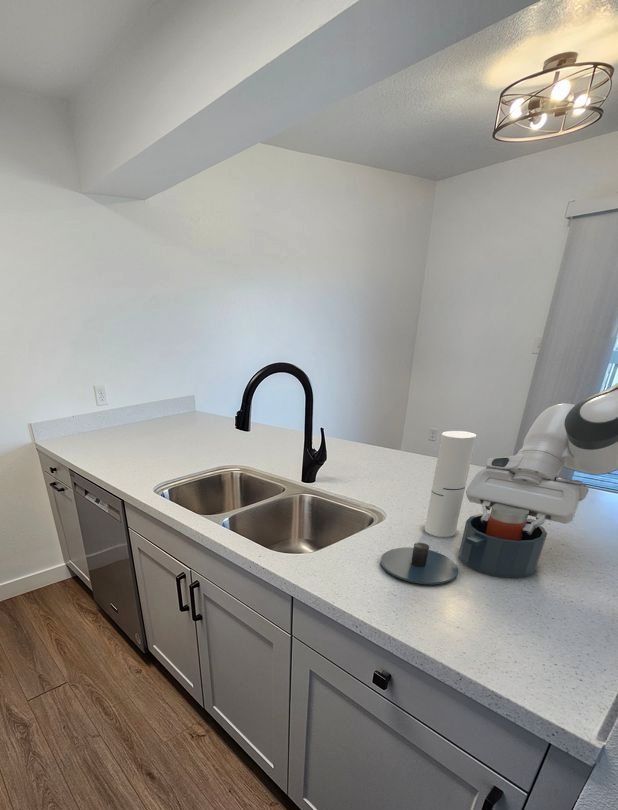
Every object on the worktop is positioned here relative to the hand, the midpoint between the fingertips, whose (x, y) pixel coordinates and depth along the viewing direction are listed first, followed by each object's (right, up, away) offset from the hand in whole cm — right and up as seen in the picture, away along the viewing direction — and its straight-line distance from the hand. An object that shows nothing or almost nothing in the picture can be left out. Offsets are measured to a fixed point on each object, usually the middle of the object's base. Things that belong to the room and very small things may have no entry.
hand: (504, 527), depth 93 cm
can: (+1, -4, +2) cm, 5 cm away
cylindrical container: (-4, -1, +19) cm, 19 cm away
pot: (+1, -7, +4) cm, 9 cm away
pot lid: (-17, -8, +3) cm, 19 cm away
